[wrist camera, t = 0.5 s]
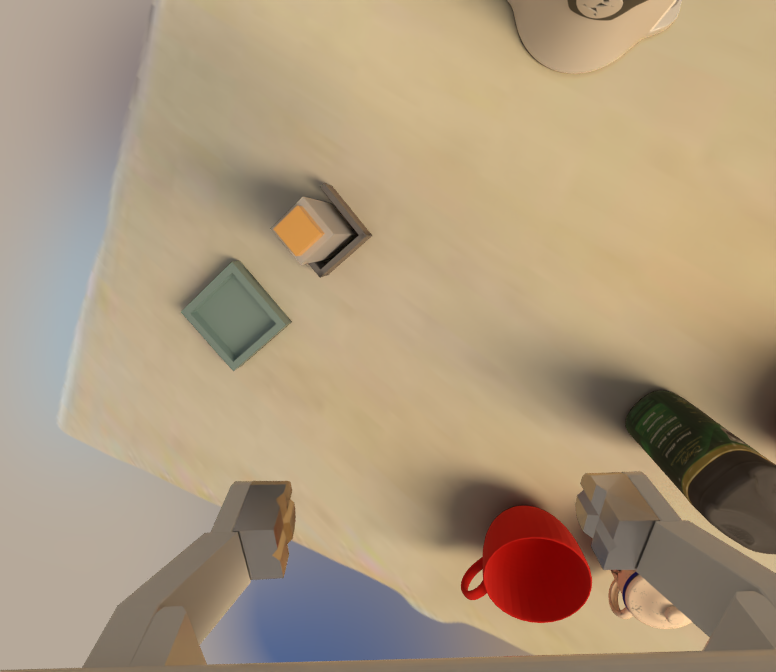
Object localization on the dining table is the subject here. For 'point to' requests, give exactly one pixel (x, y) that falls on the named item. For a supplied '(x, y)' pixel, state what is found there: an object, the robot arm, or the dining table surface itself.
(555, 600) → the ceramic cup
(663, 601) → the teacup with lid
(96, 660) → the robot arm
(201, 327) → the tray
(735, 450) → the coffee jar
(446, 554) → the dining table surface
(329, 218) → the grey pillar orange cap
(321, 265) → the bay
